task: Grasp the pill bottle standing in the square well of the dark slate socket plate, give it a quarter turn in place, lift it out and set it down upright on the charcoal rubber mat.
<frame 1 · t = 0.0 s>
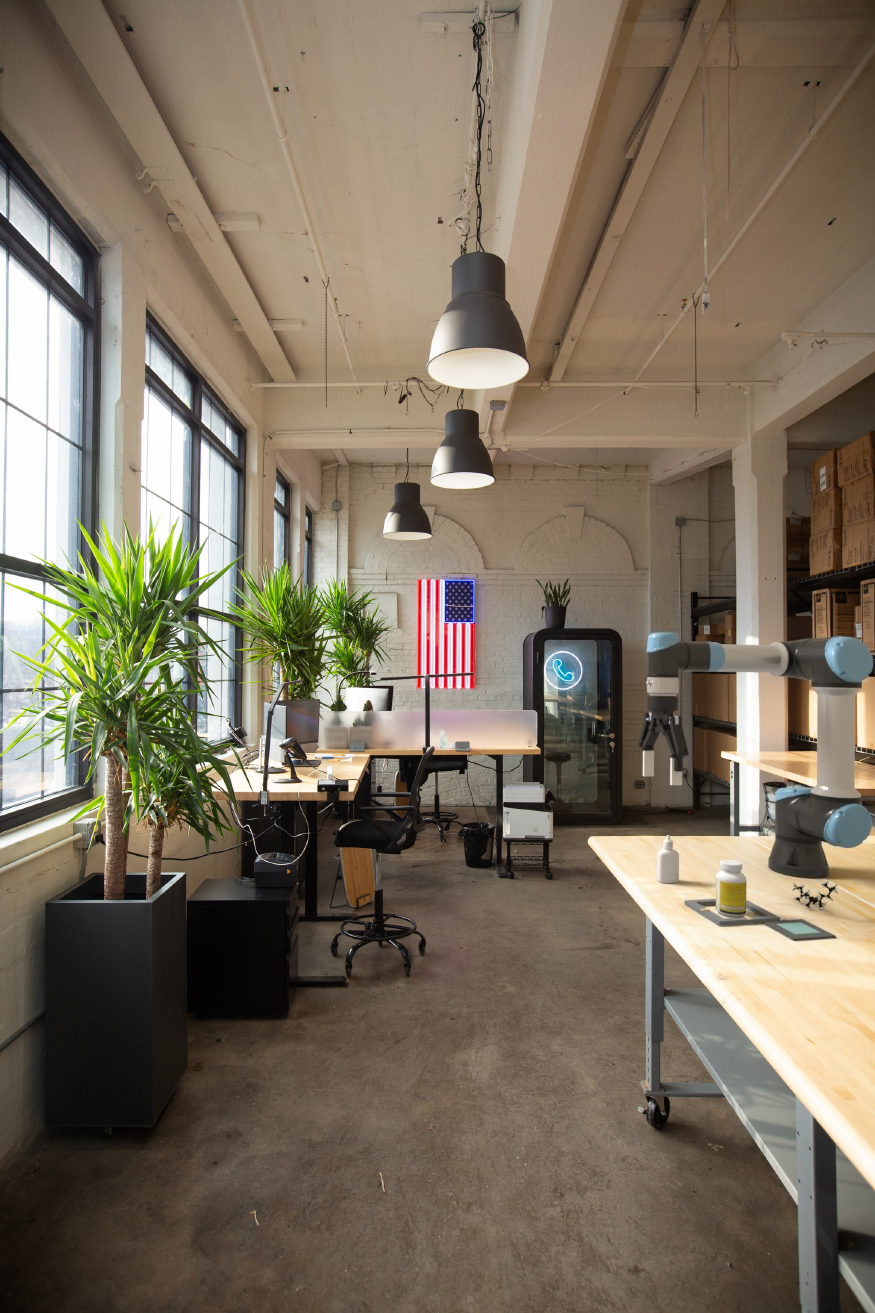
hand: (661, 780, 175), 28 cm above the table, fingers open, 13 cm apart
mat: (798, 930, 151), on the table
pill bottle: (730, 914, 162), resting in socket plate
eye dropper bottle: (667, 882, 185), on the table
molecular model: (813, 908, 166), on the table
socket plate: (730, 913, 162), on the table
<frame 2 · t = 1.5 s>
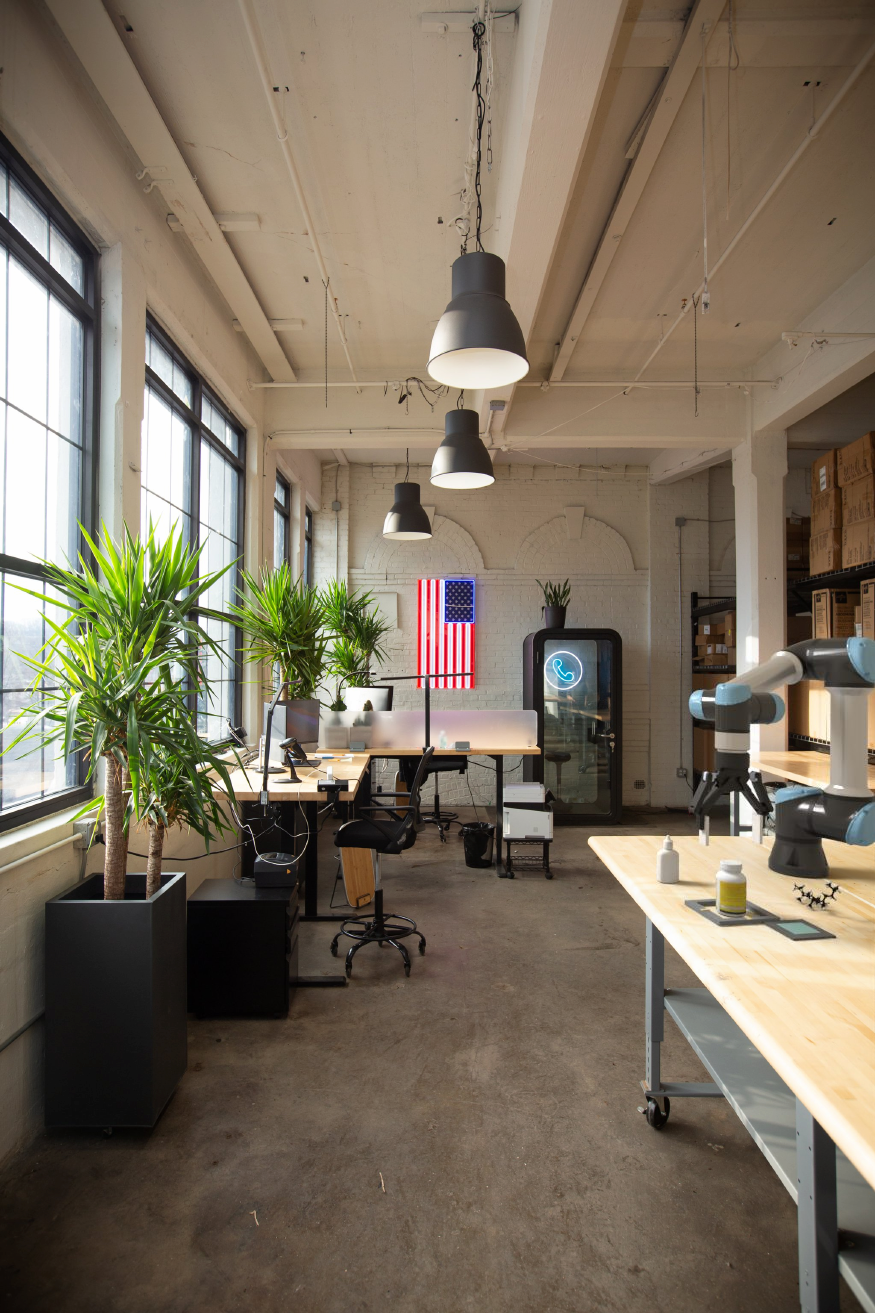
hand: (730, 843, 162), 16 cm above the table, fingers open, 13 cm apart
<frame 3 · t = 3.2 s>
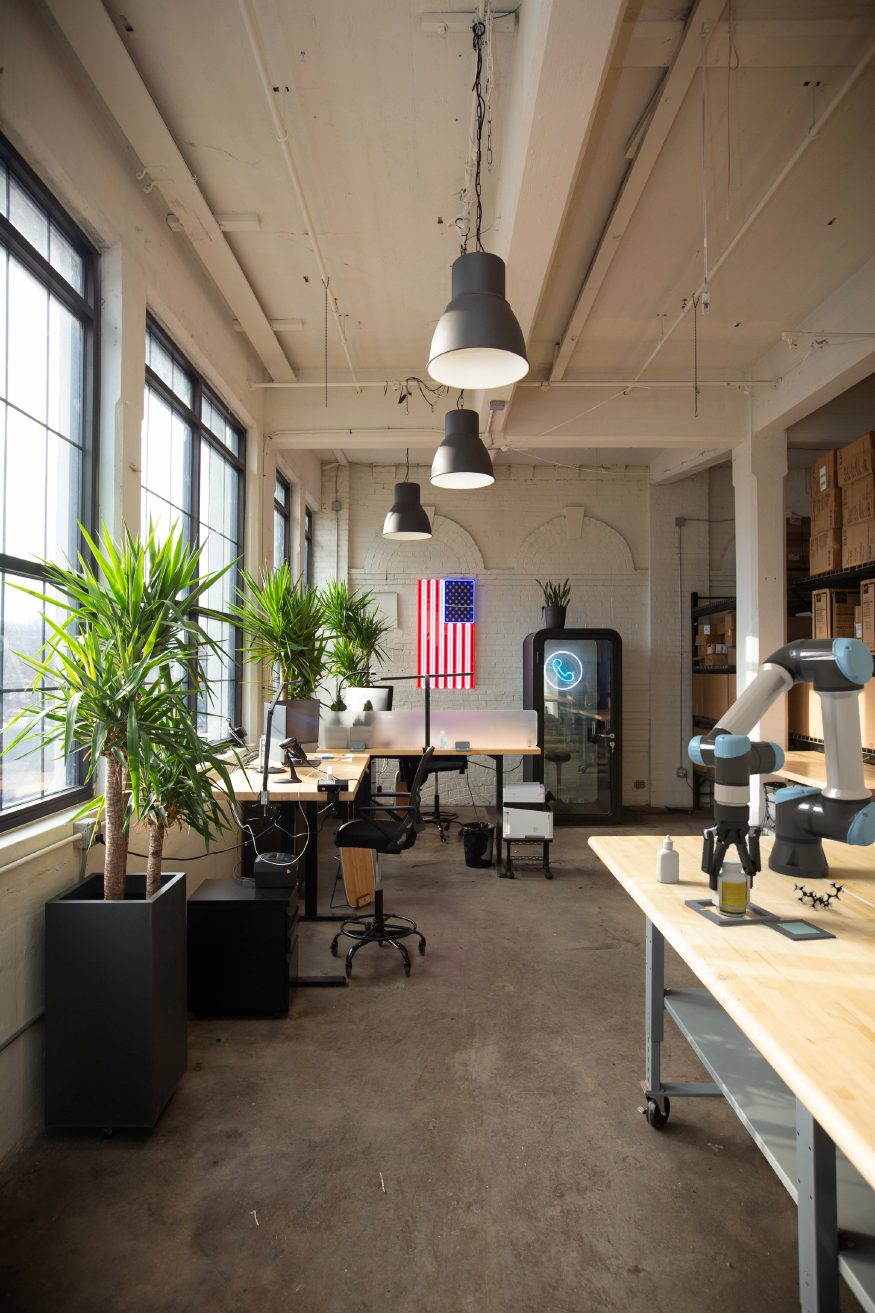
hand: (731, 903, 162), 2 cm above the table, fingers closed on pill bottle, 6 cm apart
pill bottle: (730, 914, 162), resting in socket plate, touching gripper
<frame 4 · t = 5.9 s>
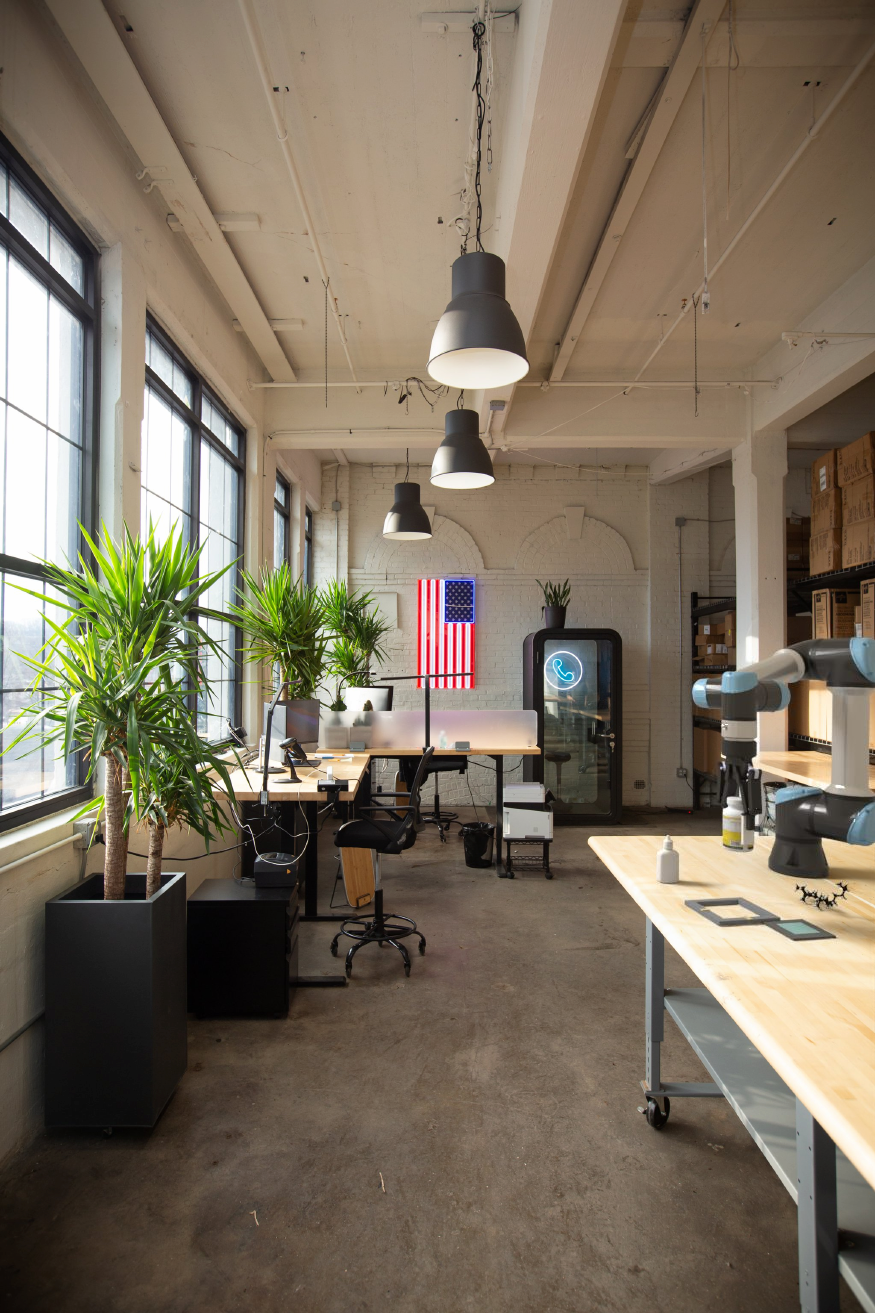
hand: (738, 840, 161), 17 cm above the table, fingers closed on pill bottle, 6 cm apart
pill bottle: (737, 850, 161), point 15 cm above the table, touching gripper
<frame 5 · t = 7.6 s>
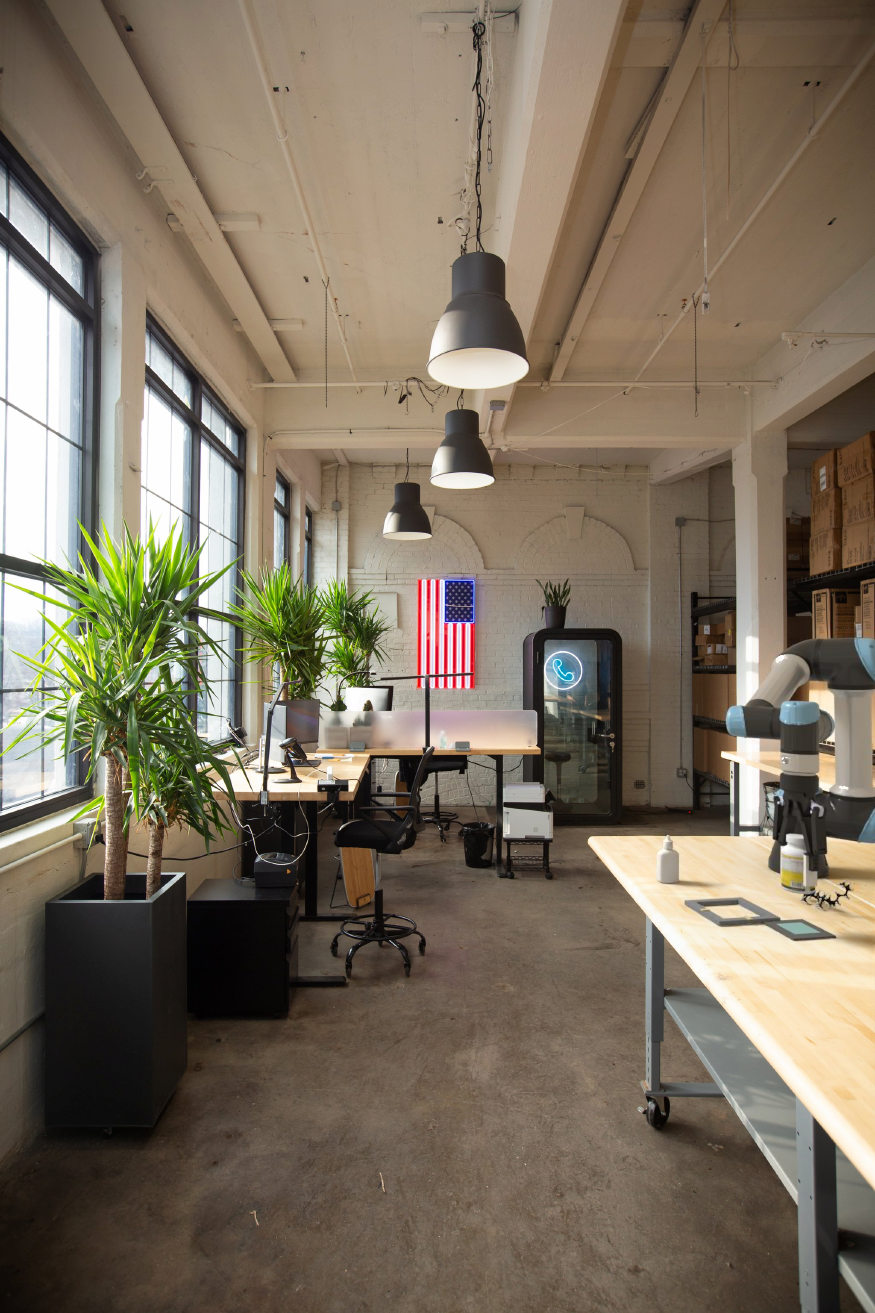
hand: (798, 880, 151), 11 cm above the table, fingers closed on pill bottle, 6 cm apart
pill bottle: (798, 891, 151), point 8 cm above the table, touching gripper
when the fingers open (4 cm above the table, at t = 8.9 s): pill bottle drops 1 cm, resting on mat.
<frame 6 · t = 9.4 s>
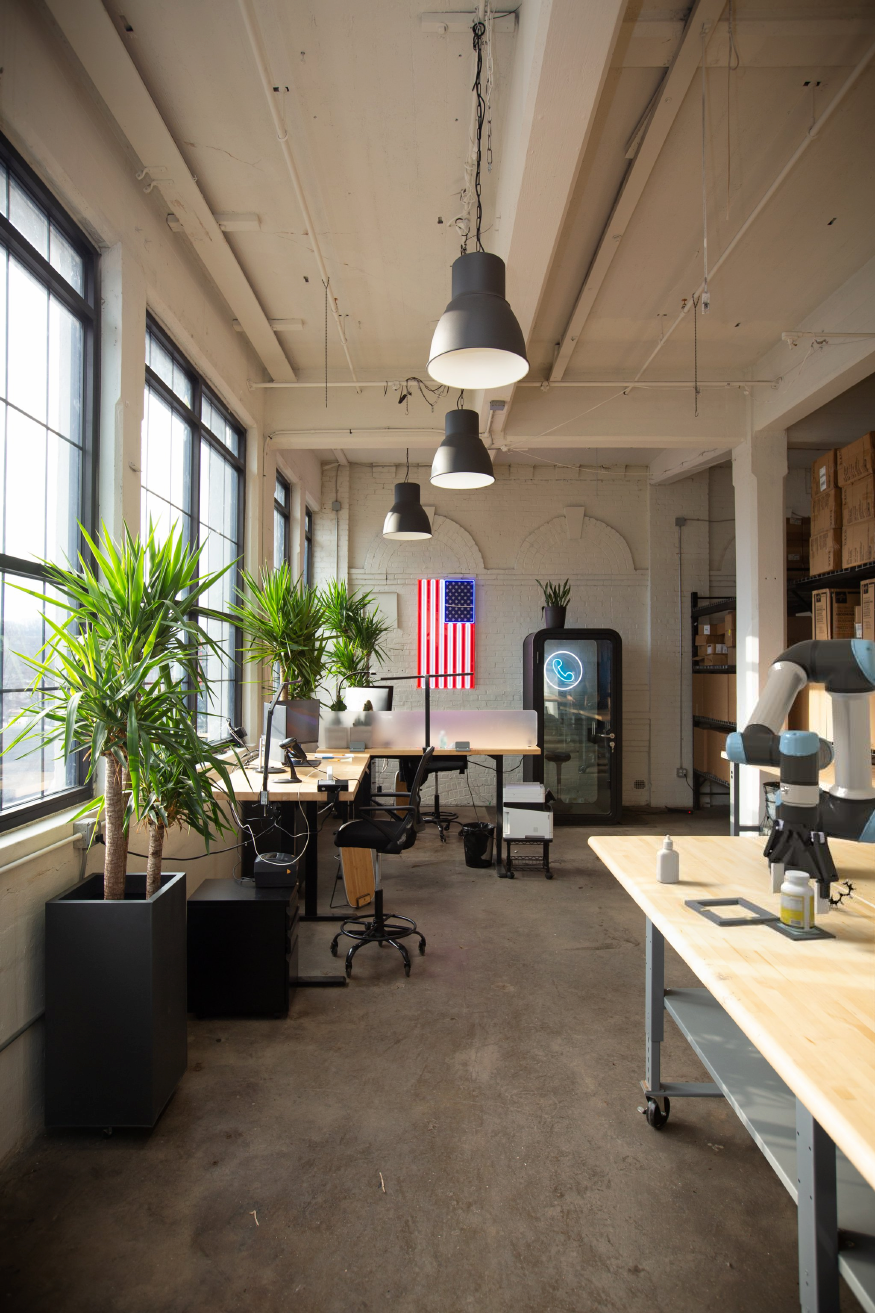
hand: (798, 902, 151), 6 cm above the table, fingers open, 13 cm apart
pill bottle: (797, 928, 152), resting on mat
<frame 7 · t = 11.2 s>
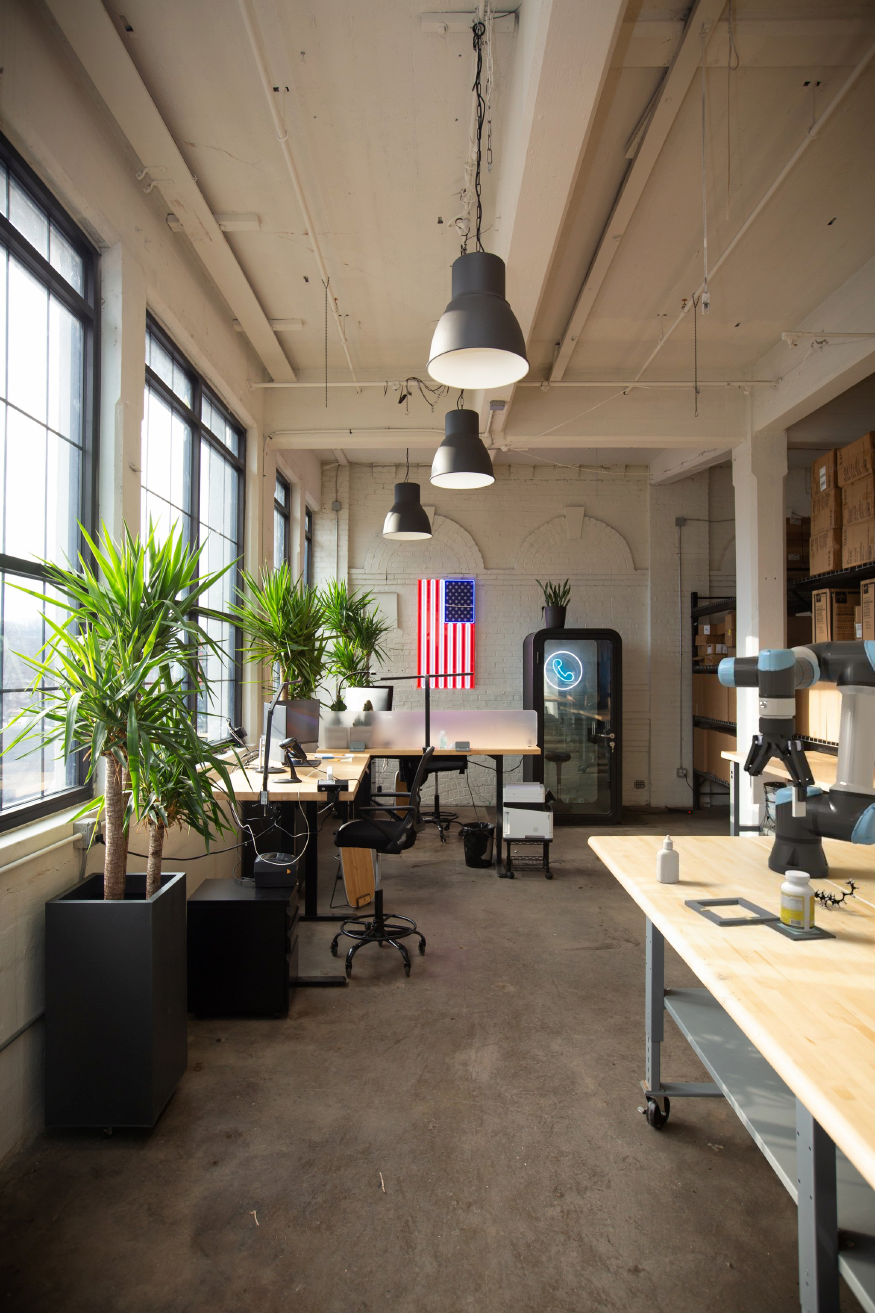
hand: (777, 809, 161), 24 cm above the table, fingers open, 13 cm apart
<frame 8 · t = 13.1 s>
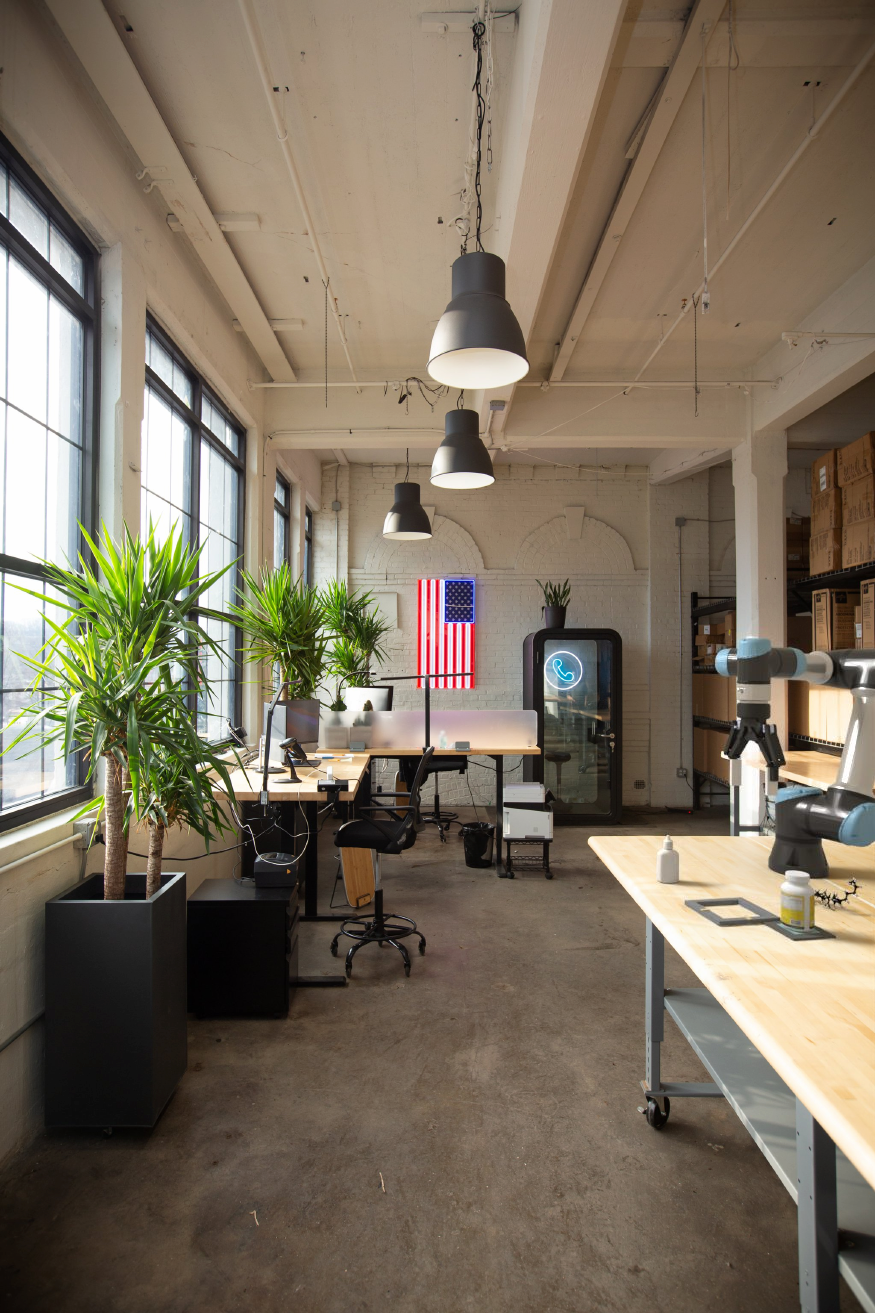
hand: (752, 790, 170), 27 cm above the table, fingers open, 13 cm apart
at the end: pill bottle inside the target area on the mat (0.2 cm from its centre), point 0.3 cm above the mat's base; pill bottle tilted 0°; the gripper is holding nothing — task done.
